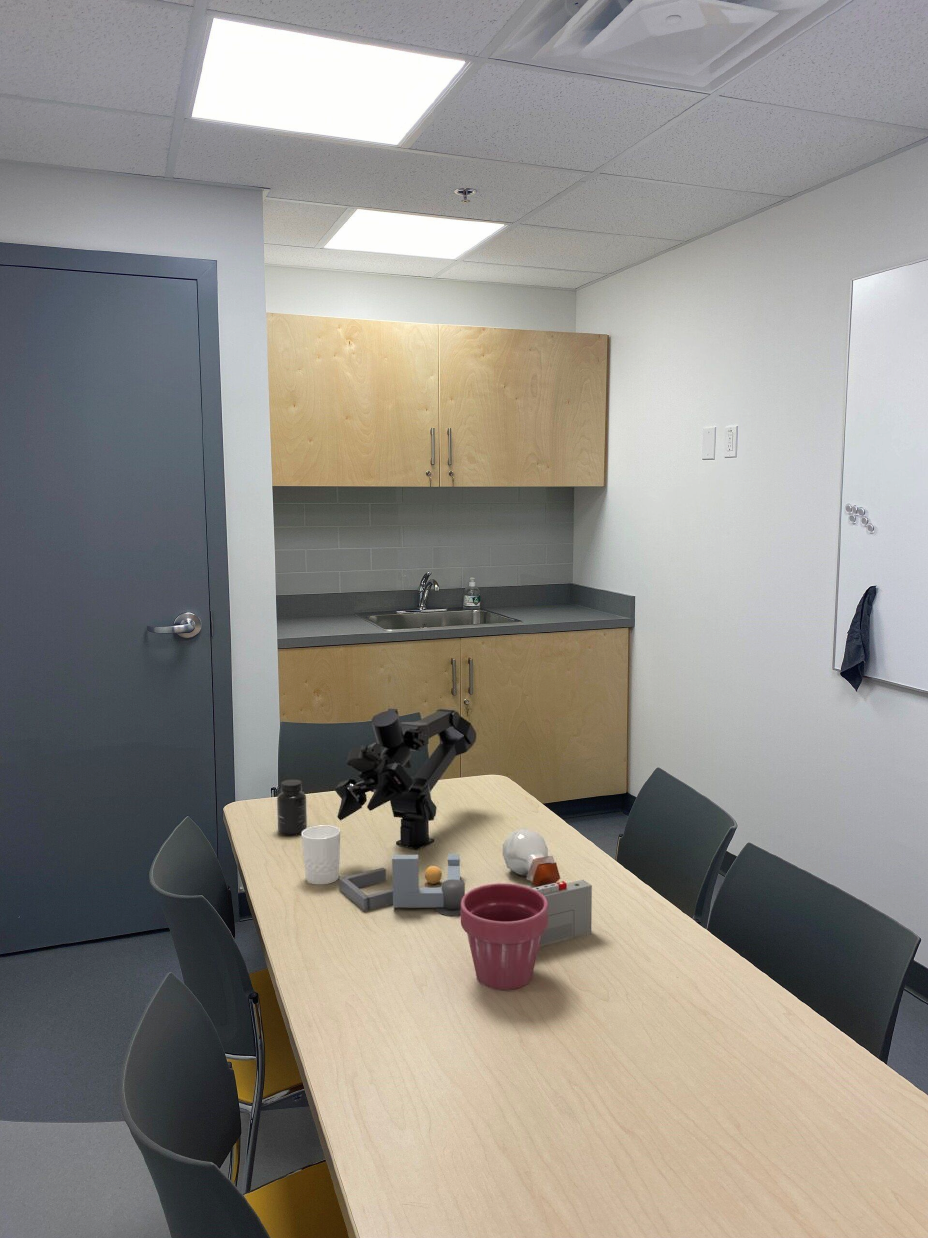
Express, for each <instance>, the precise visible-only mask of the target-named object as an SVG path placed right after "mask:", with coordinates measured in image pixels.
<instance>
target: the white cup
mask: <svg viewBox="0 0 928 1238" xmlns="http://www.w3.org/2000/svg"><path fill="white" fill-rule="evenodd" d="M301 844H302V857H303V865H304V870H305V881H306V882H307V883H309V884H311V885H316V886H317V885H319V886H320V885H328V884H332V883H334V882H336V881H337V880H339V878H340V877H339V876H340V875H339V872H340V871H339V870H340V860H341V859H340V858H341V857H340V856H341V829H340V828H339V827H337V826H334V825H329V824H323V825H322V824H321V825H313V826H310V827H307V829H305V830H303V831H302V834H301Z"/></svg>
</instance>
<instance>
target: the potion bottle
mask: <svg viewBox="0 0 928 1238" xmlns="http://www.w3.org/2000/svg"><path fill="white" fill-rule="evenodd" d="M548 855H549V849H548V845H547V844H546V841H545V839H544V836H543V835H541V834H539V833H537V832H536V831H534V830H532V829H527V828H523V827H521V828H519V829H517V830H514V831H513V832H511V833H509V834H508V836H507V838H506V839H505V840H504V842H503V843H502V857H503V859H504V862H505V865H506V868H507V869H509V870H510V871H512V872H514V873H516V874H517V875H520V876H524V877H525V876H526V877H525V879H526V880H528V882H529V881H530V882H531V884H532V885H533V886H535V887H539V886H544V885H548V884H553V883H557V882H559V881H560V880H561V875H560V872H559V871H560V870H559V868H558V864H557V862H555V858H554V856H553V855H549V856H548Z"/></svg>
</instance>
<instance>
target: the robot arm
mask: <svg viewBox="0 0 928 1238" xmlns="http://www.w3.org/2000/svg"><path fill="white" fill-rule="evenodd" d="M371 724H372V729H373V732H374V734H375V739H376V742H374V743H371V744H369V745H368V744H364V745H358V746H356V747H353V748H350V749H349V752H348V756H347V760H346V762H345V763H346V765H347V766H348V767H351V768H353V769H354V770H356V771H357V772H359V773H358V774H357V776H358V777H359V778H360V779H361V780H363V781H360V782H357V781H356V780H355V779H352V778H349V779H346V780H344V781H341V782H339V783H338V784H337V786H336V787H335V789H334V791H335V793H336V794H337V795H338V796H339V798H340V805H339V809H338V812H337V816H336V817H337V819H338V820H339V821H342V820H344V819H346V818H348V817H349V816H351V815H352V814H354V813H356V812H358V811H359V810H361V809H363V807H364V806H363V805H366V803H367V802H368V804H367V806H366V808H367V810H368V811H370V812H371V811H373V810H375V809H376V808H379V807H381V806H383V805H384V804H386V803H388V802H390V803H389V804H390V807H391V810H392V816H393V817H394V818H400V827H399V828H400V829H399V832H400V833H399V834H400V835H399V836H400V839H399V840H397V841H395V845H397V846H402V847H406V848H409V849H413V850H420V849H422V848H424V847H426V846H428V845H430V844H432V843H434V842H435V838H432V837H430V836H429V835H430V834H429V833H430V831H429V830H430V829H429V828H430V827H429V826H430V825H429V824H430V823H429V822H431V821H434V820H435V817H436V815H437V807H438V806H436V804H435V802H434V801H433V800H432V796H431V795H432V793H431V792H432V790H433V789H434V787H435V786H436V784H437V783H438V782H439V781H440V780H441V777H442V776H443V774H445V772H446V770H447V769H448V768H449V767H450V765H451V764H452V763H453V761H454V759H455V758H456V757H457V756H460V755H463V754H466V753H467V752H468V751H469V750H470V749H471V748H472V747H473V746H474V744H475V743H476V740H477V732H476V730H475V728H474V727H473V725H472V723H471V722H470V721H469V720H467V719H465V718H464V717H463V716H461V714H460V713H459V712H458V711H456V710H455V709H447V708H439V709H437V710H436V711H435V712H433V713H432V714H431V713H430V714H429V715H427V716H425V717H423V718H420V719H419V720H417V721H403V722H401V721H400V716H399V711H398V709H397V708H390V707H389V708H388V710H385V711H382V712H380V713H377V714H376V715H373V716H372V718H371ZM436 735H437V736H438V737H439V744H438V745H437V746H436V748H435V749H434V750H433V752H432V753H431V755H430V756H429V757H428V759H427V760H426V761H425V763H424V764H423V765H422V766H421V767H420V768H419V770H418V772H417V773H416V774H415V776H412V775H411V776H410V774H408V772H407V771H406V769H405V768H409V769H411V768H412V767H413V766H412V764H413V762H412V759H411V758H412V754H411V751H415V752H420V751H422V750H423V749H424V748H426V747H427V746H428V745H429V739H431V738H433V737H434V736H436ZM381 747H382V748H384V749H383V750H382V749H381ZM368 792H372V793H373V794H372V796H371V798H370V799H369V801H368V800H367V799H368V798H367V797H368V796H367V794H366V793H368Z"/></svg>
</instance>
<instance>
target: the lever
mask: <svg viewBox="0 0 928 1238" xmlns="http://www.w3.org/2000/svg"><path fill="white" fill-rule="evenodd" d="M460 856H461V855H460V853H448V854H447V877H446V880H444V881H443V882H441V887H420V883H419V880H420V879H419V854H393V855H392V856H391V857H392V860H391V866H392V869H391V872H392V873H391V875H392V888H393V904H392V908H405V909H407V908H408V909H409V908H410V909H411V908H412V909H413V908H415V909H416V908H435V907H444V908H446V909H460V908H461V900H462V898H463V896H464V895H465V894H466V887H465V882H464V881H463V880H461V877H460V876H461V875H460V874H461V869H460V868H461V864H460V863H461V861H460V859H461V857H460Z"/></svg>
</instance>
